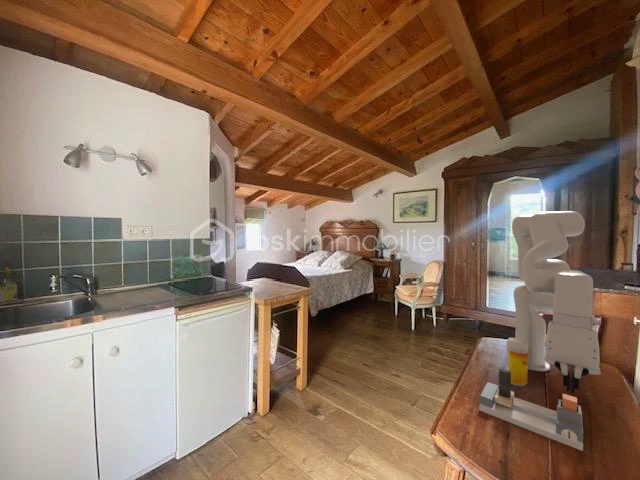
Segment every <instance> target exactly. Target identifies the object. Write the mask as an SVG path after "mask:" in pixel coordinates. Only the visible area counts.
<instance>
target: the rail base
mask: <svg viewBox="0 0 640 480" xmlns="http://www.w3.org/2000/svg"><path fill="white" fill-rule="evenodd" d="M498 388H499V384H495V383H493V382H489V381H487V383H486V384H485V386H484V388H483V389H482V391H481V394H480V395H479V396H480V399H479V401H480V402H479V405H478V406H479V407H478V408H479V409H478V411H480V412H483V413H485V414H488V415H490V416H493V417H495V418H498V419H500V420H503V421H506V422H508V423H509V424H510V423H511V424H513V425H515V426H518V427H520V428H524V429H525V430H529V431H531V432H533V433H536V434H538V435H541V436H543V437H546V438H548V439H551V440H553V441H556V442H558V443H561V444H563V445H566V446H569V447H572V448H573V449H577V450H579V451H581V452H584V426H583V425H584V424H583V412H582V406H581V405H578V404H577V412H575V411H572V410H569V409H566V408H563V407H562V399H558V402H557V405H556V410H554V409H551V408H548V407H544V406H542V405H538V404H535V403H533V402H530V401H527V400H524V399H521V398H519V397H515V396H514V400H513V403H512V408H510V407H507V406H504V405H501V404H499V403H496V402H494V397H495V394H496V392H497V390H498Z"/></svg>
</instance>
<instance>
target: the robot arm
mask: <svg viewBox="0 0 640 480" xmlns="http://www.w3.org/2000/svg"><path fill="white" fill-rule="evenodd" d="M585 227H586V222H585V219H584V217H583V215H582V214H581V213H579V212H578V211H574V210H563V211H562V210H559V211H540V212H536V213H534V214H524V215H519V216H516V217H514V219H513V220H512V223H511V230H512V235H513V237H514V238H513V239H514V240H515V242H516V245H517V270H518V271H517V273H518V277H519V279H520V280H521V281H523V282H524V283H523V284H524V285H519V286H517V287H515V288H514V290H513V301H514V307H515V309H514V310H515V337H514V338H519V339H523V340H525V341H526V342H527V344H528V371H529V370H530V371H533V372H534V371H535V372H547V371H550V370H551V365H553V366H554V367H556V368H557V369H558V370H559V371H560V372H561V374H562V386H564V387H566V392H571V393H572V394H576V390H579V388H580V379H581V378H582V377H584V376H586V375H595V376H596V375H599V376H600V375H601V374H602V372H601V369H600V343H599V335H598V332H597V328H596V327H593V326H601V325H602V321H601V320H602V319H597V318H595V317H593V314H594V313H593V308H594V307H593V306H594V305H593V304H594V280H593V276H591V275H589V274H587V273H585V272H583V271H581V270H577V269H571V267H570V265H569V264H568V263H567V262H566V261H564V260H563V259H562V260H561V259H554V258H556V257H559V256H561V255H563V254H564V253H566V251H568V249H569V242H568V239H567V237H568V238H570V237H577V236H580V235H581V234H583V232H584V230H585ZM538 312H549V313H552V320H549V322H548V324H547V323H546V320H545V319H544V317H542V315H540V314H539V313H538ZM547 325H548V326H547ZM568 365H570V366H574V369H573V371H572V372H571V373H570V370H569V369H568Z"/></svg>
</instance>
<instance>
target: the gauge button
mask: <svg viewBox="0 0 640 480" xmlns="http://www.w3.org/2000/svg"><path fill="white" fill-rule="evenodd" d="M561 400H562V407H563V408H566V409H569V410H572V411H575V412H577V405H578V398H577V397H576V396H572V395H570V394H566V393H562V399H561Z"/></svg>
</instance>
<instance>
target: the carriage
mask: <svg viewBox="0 0 640 480" xmlns="http://www.w3.org/2000/svg"><path fill="white" fill-rule="evenodd" d="M498 386H499V388H498V390H497V392H496V394H495V397H494V402H496V403H499V404H501V405H504V406H507V407H510V408H512V403H513V400H514V397H515V391H512V384H511V372H510V371H508V370H506V368H499V369H498Z"/></svg>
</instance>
